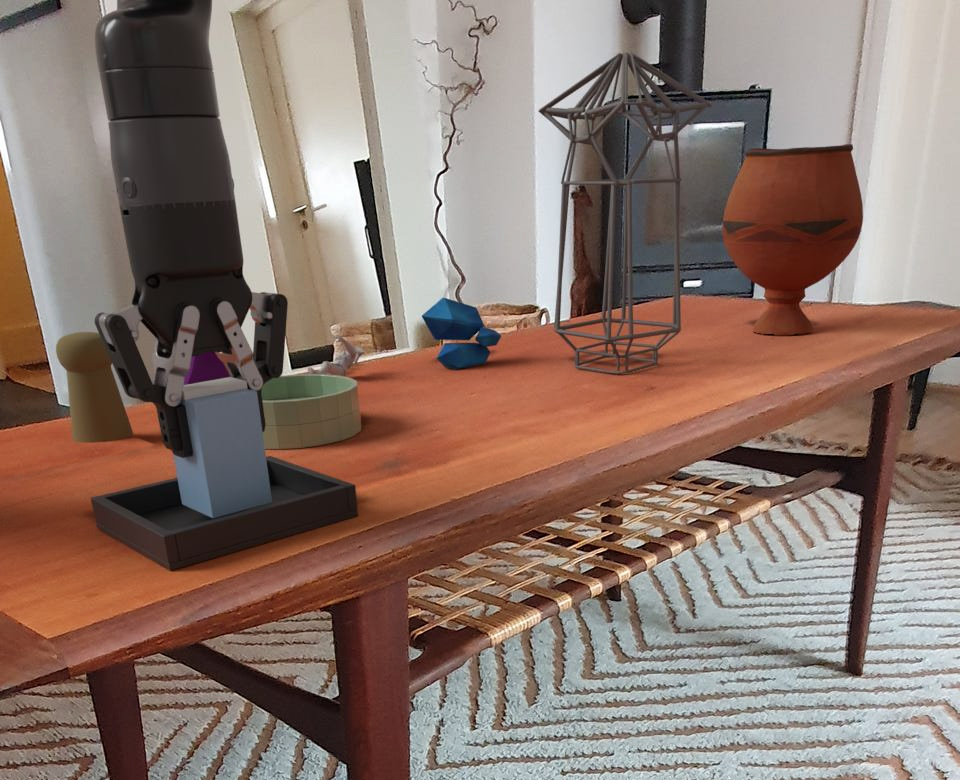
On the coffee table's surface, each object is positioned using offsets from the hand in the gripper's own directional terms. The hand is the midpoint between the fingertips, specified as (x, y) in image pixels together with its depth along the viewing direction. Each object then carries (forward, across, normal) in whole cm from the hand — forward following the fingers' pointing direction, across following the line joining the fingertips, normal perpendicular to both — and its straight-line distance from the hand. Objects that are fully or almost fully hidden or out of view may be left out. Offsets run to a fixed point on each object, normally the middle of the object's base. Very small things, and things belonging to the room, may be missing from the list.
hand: (217, 446), depth 72 cm
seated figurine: (+6, -36, -39) cm, 53 cm away
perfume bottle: (+6, -17, -35) cm, 39 cm away
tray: (+6, 0, 0) cm, 6 cm away
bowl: (+6, -18, -19) cm, 27 cm away
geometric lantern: (+6, -66, -18) cm, 69 cm away
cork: (+6, -3, -31) cm, 32 cm away
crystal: (+6, -54, -35) cm, 65 cm away
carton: (+4, 0, 0) cm, 4 cm away
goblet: (+6, -102, -17) cm, 103 cm away
